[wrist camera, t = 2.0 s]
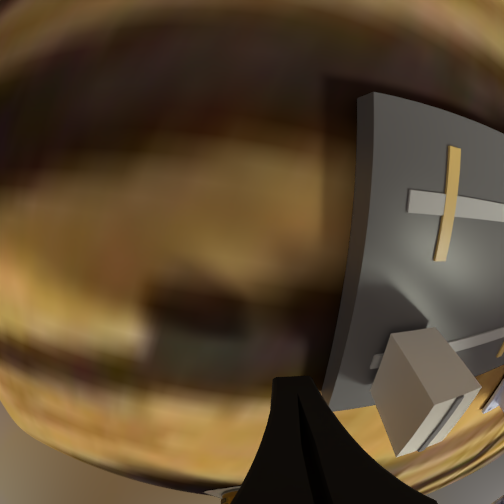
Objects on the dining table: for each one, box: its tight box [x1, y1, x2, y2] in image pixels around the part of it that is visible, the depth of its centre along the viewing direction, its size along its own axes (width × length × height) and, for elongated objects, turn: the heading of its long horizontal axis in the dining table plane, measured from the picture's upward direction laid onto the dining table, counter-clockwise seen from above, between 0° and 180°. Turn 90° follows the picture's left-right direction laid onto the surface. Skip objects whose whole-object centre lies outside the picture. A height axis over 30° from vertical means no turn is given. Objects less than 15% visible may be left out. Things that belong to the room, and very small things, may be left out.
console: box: [321, 92, 504, 412], centre depth 10 cm, size 16×14×2 cm
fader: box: [370, 327, 482, 457], centre depth 9 cm, size 2×4×4 cm
